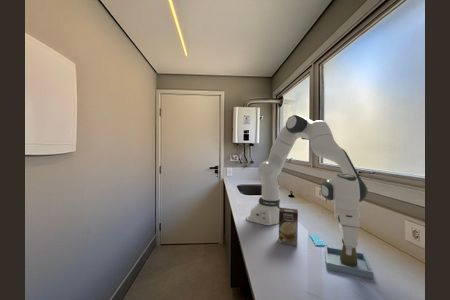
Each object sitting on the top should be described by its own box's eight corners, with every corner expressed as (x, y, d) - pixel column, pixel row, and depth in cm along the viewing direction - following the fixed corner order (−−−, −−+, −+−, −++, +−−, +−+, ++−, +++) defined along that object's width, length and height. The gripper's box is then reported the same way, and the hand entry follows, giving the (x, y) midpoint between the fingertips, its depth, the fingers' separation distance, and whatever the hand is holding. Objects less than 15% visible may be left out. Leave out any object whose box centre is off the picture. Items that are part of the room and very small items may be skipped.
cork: (336, 256, 83) (337, 233, 80) (350, 253, 84) (351, 231, 81) (346, 267, 78) (347, 244, 75) (361, 265, 78) (362, 242, 75)
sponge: (320, 235, 106) (308, 233, 107) (328, 246, 94) (315, 243, 95) (319, 237, 106) (308, 235, 107) (328, 249, 94) (315, 247, 95)
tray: (326, 268, 78) (326, 262, 77) (324, 251, 90) (324, 246, 90) (373, 279, 71) (373, 272, 71) (364, 259, 84) (364, 253, 84)
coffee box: (278, 243, 98) (278, 210, 98) (279, 237, 104) (279, 207, 104) (297, 246, 95) (297, 212, 95) (297, 240, 101) (297, 208, 101)
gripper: (335, 206, 91) (335, 236, 91) (340, 221, 72) (340, 259, 73) (351, 208, 88) (351, 239, 88) (361, 224, 70) (361, 263, 70)
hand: (346, 248), depth 80 cm, fingers open, 8 cm apart
